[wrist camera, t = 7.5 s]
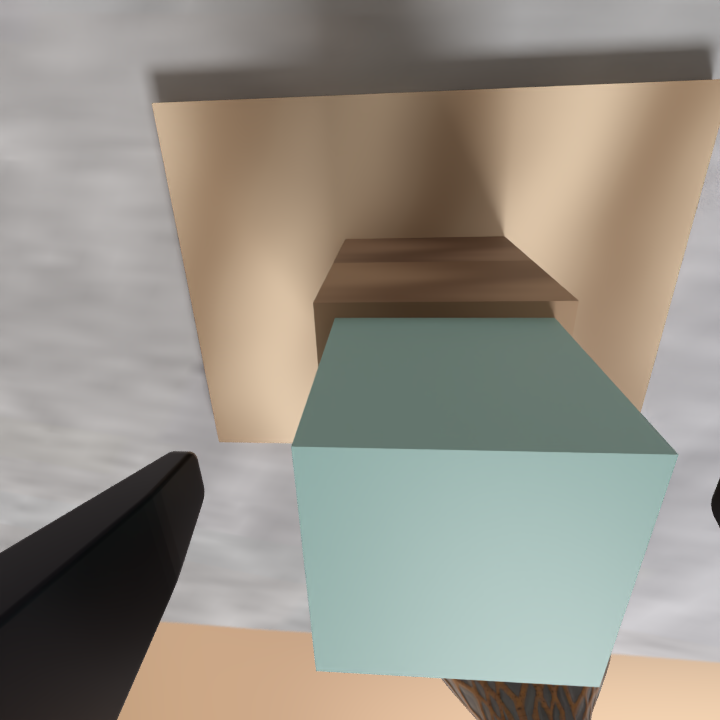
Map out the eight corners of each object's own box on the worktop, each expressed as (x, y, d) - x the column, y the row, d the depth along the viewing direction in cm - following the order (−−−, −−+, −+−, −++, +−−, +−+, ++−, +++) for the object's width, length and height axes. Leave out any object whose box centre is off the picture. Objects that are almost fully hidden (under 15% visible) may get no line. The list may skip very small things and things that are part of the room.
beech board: (713, 82, 13) (732, 78, 12) (621, 436, 18) (630, 448, 17) (164, 104, 14) (151, 103, 13) (225, 431, 19) (219, 441, 18)
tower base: (504, 236, 14) (532, 260, 11) (489, 377, 16) (510, 428, 14) (345, 239, 15) (333, 262, 12) (351, 377, 17) (342, 425, 14)
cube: (554, 317, 9) (678, 455, 5) (525, 490, 10) (599, 687, 7) (335, 318, 9) (290, 446, 5) (343, 485, 11) (316, 670, 7)
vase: (533, 430, 18) (638, 652, 10) (588, 544, 21) (708, 795, 13) (381, 490, 20) (371, 716, 12) (447, 588, 22) (476, 830, 15)
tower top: (532, 260, 11) (578, 300, 8) (510, 428, 14) (540, 505, 11) (333, 262, 12) (313, 302, 9) (342, 425, 14) (328, 500, 11)
